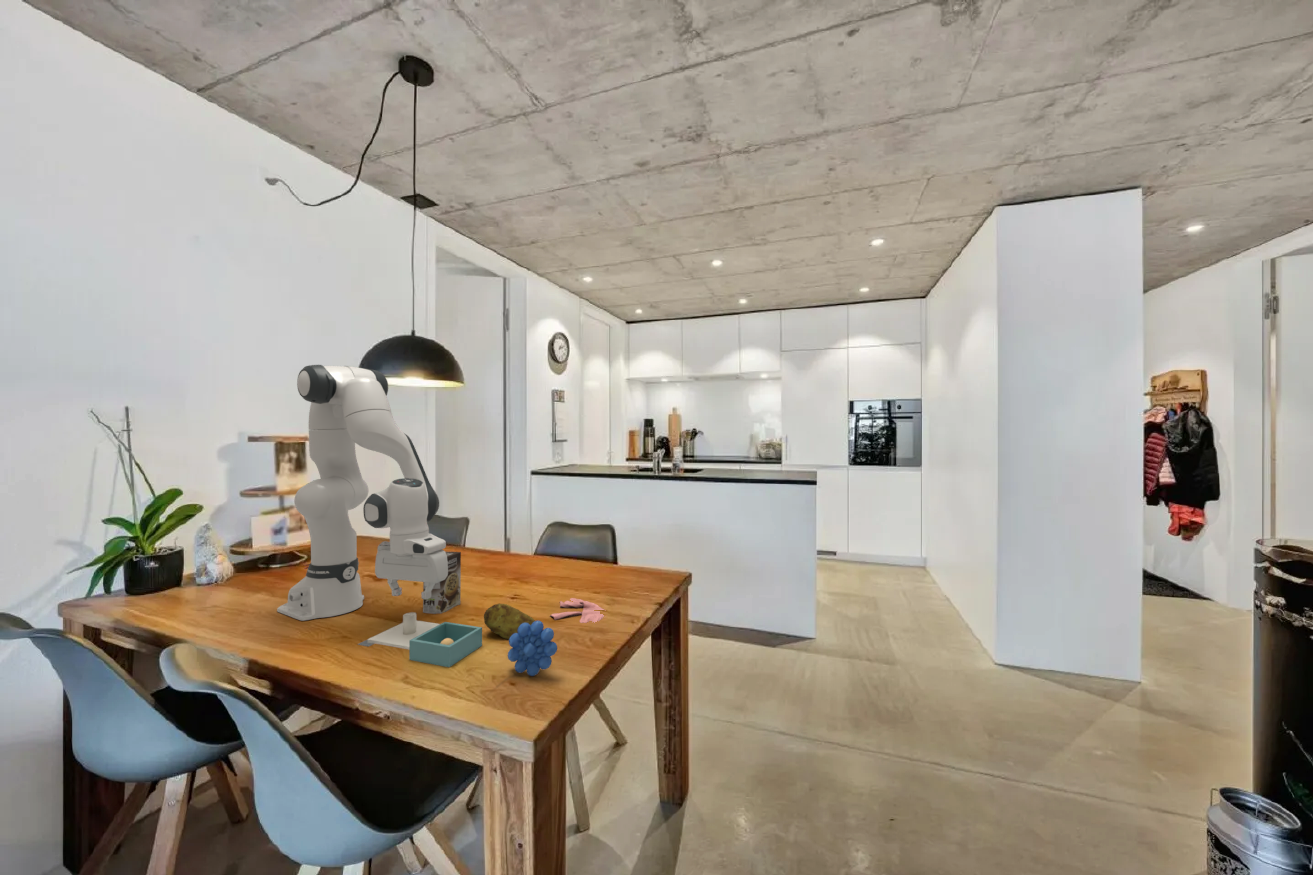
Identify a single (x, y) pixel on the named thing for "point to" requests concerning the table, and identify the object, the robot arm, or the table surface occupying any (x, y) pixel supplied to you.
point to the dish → (440, 654)
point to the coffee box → (446, 588)
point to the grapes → (532, 648)
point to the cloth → (587, 612)
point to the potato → (505, 619)
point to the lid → (402, 632)
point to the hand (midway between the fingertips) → (411, 596)
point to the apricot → (447, 641)
